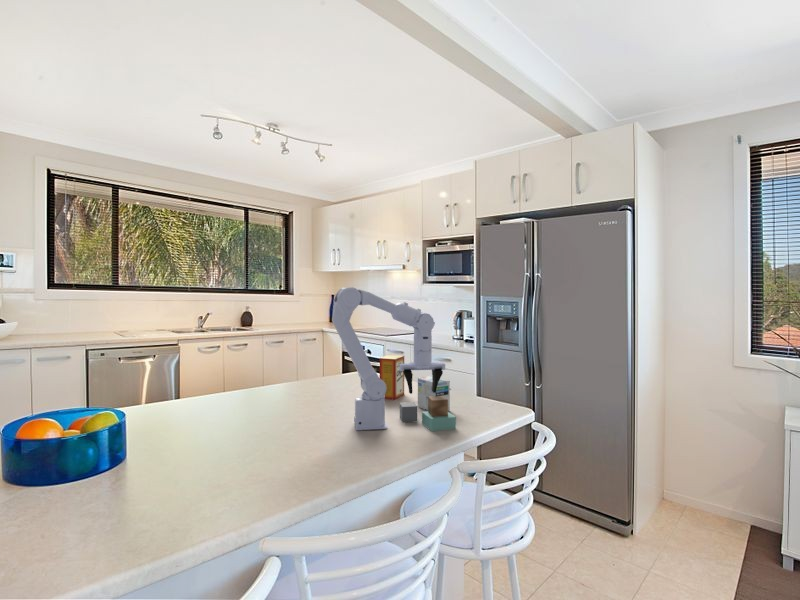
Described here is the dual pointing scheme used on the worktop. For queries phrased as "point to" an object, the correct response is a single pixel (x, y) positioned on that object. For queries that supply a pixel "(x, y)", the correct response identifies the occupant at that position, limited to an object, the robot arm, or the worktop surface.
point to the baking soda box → (392, 375)
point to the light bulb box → (426, 391)
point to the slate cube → (408, 412)
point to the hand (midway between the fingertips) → (422, 392)
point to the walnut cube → (437, 406)
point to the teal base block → (439, 421)
